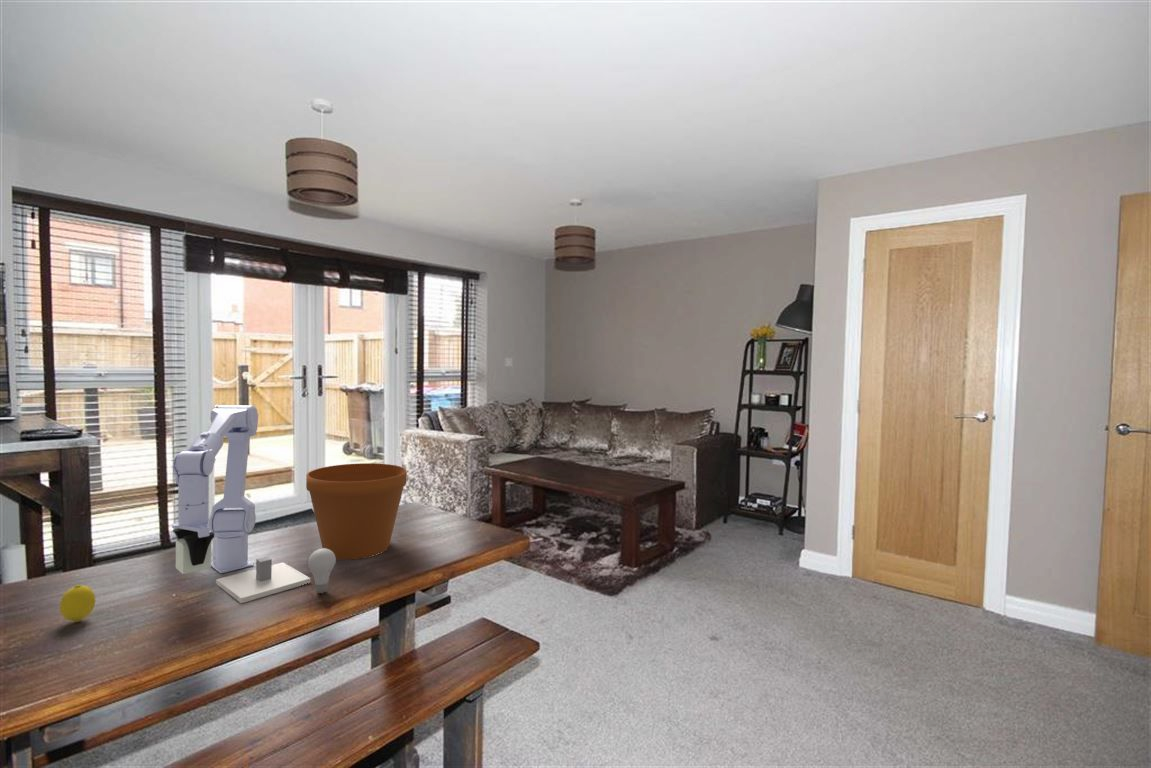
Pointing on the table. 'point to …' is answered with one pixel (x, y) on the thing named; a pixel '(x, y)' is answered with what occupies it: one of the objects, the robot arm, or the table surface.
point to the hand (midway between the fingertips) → (193, 560)
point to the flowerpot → (356, 506)
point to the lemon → (77, 603)
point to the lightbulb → (321, 567)
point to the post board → (263, 588)
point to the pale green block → (184, 558)
